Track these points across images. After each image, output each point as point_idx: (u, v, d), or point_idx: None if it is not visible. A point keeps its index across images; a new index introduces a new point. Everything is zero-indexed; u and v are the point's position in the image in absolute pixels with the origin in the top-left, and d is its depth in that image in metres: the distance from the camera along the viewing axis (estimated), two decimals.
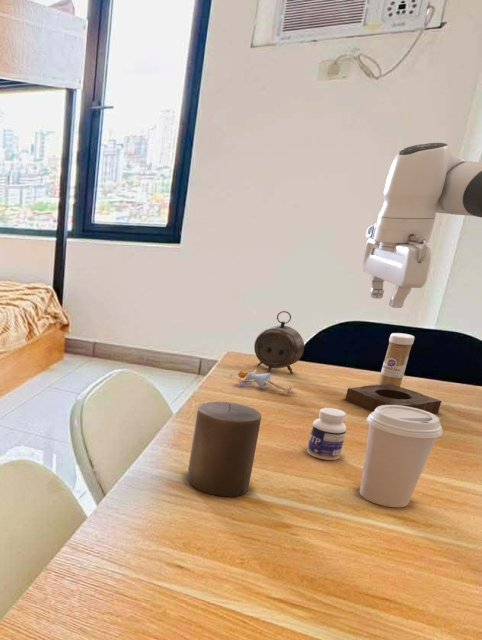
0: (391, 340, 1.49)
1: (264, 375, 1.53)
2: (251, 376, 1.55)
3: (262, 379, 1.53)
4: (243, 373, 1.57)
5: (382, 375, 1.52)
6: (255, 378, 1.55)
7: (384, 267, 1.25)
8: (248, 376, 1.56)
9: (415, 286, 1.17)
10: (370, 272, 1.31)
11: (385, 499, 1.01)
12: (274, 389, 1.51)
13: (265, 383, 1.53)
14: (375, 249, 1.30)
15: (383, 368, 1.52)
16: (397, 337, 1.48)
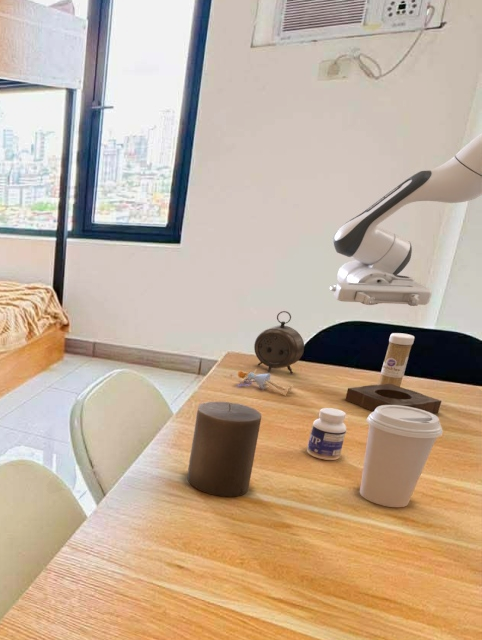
0: (391, 340, 1.49)
1: (264, 375, 1.53)
2: (251, 376, 1.55)
3: (262, 379, 1.52)
4: (243, 373, 1.57)
5: (382, 375, 1.52)
6: (255, 378, 1.54)
7: None
8: (248, 376, 1.56)
9: (341, 293, 1.62)
10: (407, 303, 1.59)
11: (385, 499, 1.01)
12: (274, 389, 1.51)
13: (265, 383, 1.53)
14: None
15: (383, 368, 1.52)
16: (397, 337, 1.48)
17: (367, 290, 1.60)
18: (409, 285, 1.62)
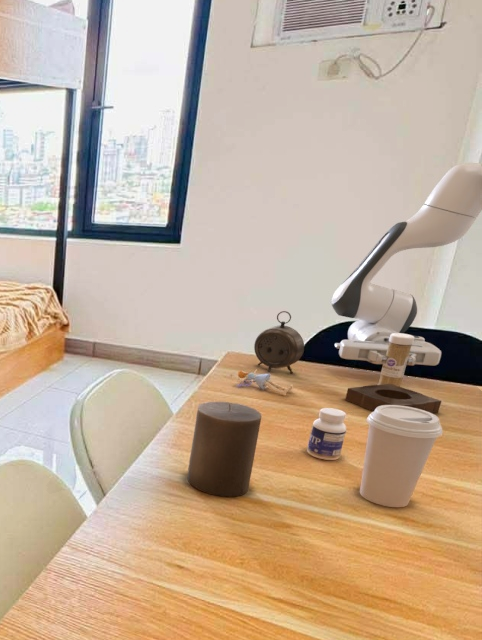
0: (391, 340, 1.49)
1: (264, 375, 1.53)
2: (251, 376, 1.55)
3: (262, 379, 1.52)
4: (243, 373, 1.57)
5: (382, 375, 1.52)
6: (255, 378, 1.54)
7: None
8: (248, 376, 1.56)
9: (344, 350, 1.58)
10: None
11: (385, 499, 1.01)
12: (273, 389, 1.51)
13: (265, 383, 1.53)
14: None
15: (383, 368, 1.52)
16: (397, 337, 1.48)
17: (371, 348, 1.55)
18: (418, 345, 1.56)
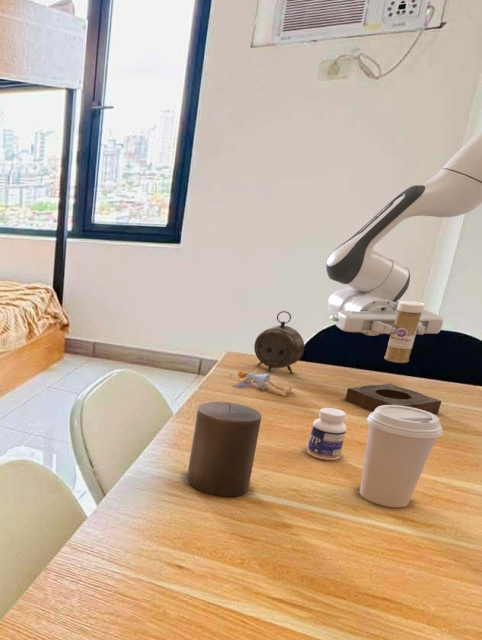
0: (401, 308, 1.38)
1: (263, 375, 1.52)
2: (251, 376, 1.55)
3: (261, 379, 1.52)
4: (243, 373, 1.57)
5: (391, 347, 1.41)
6: (255, 378, 1.54)
7: None
8: (248, 376, 1.55)
9: (348, 323, 1.45)
10: None
11: (385, 499, 1.01)
12: (273, 390, 1.51)
13: (264, 384, 1.53)
14: None
15: (391, 340, 1.41)
16: (409, 305, 1.36)
17: (375, 319, 1.43)
18: None
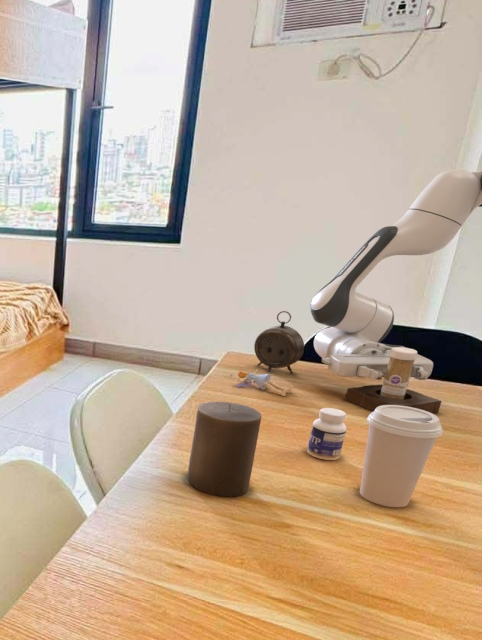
0: (395, 356, 1.37)
1: (263, 376, 1.52)
2: (251, 377, 1.55)
3: (261, 380, 1.52)
4: (243, 373, 1.57)
5: (384, 393, 1.40)
6: (254, 379, 1.54)
7: None
8: (248, 376, 1.55)
9: (342, 368, 1.44)
10: None
11: (385, 499, 1.01)
12: (273, 390, 1.51)
13: (264, 384, 1.52)
14: None
15: (385, 386, 1.40)
16: (402, 353, 1.36)
17: (369, 363, 1.43)
18: None
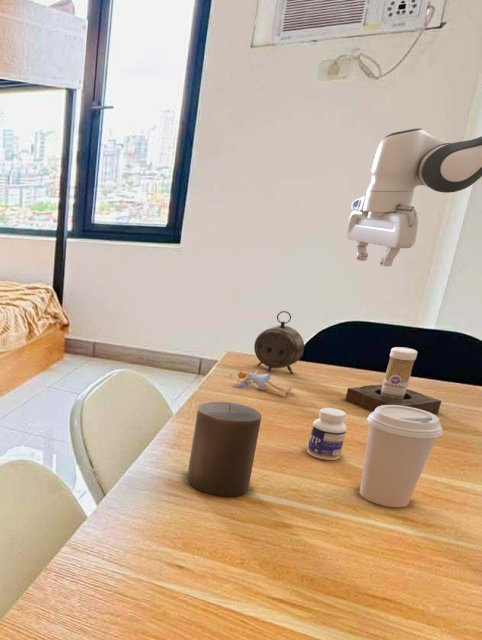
0: (395, 356, 1.37)
1: (263, 376, 1.52)
2: (250, 377, 1.55)
3: (261, 380, 1.52)
4: (243, 374, 1.56)
5: (384, 393, 1.40)
6: (254, 379, 1.54)
7: (373, 233, 1.49)
8: (247, 377, 1.55)
9: (406, 247, 1.41)
10: (356, 239, 1.56)
11: (385, 499, 1.01)
12: (273, 390, 1.51)
13: (264, 384, 1.52)
14: (360, 219, 1.55)
15: (385, 386, 1.40)
16: (402, 353, 1.36)
17: None
18: None
